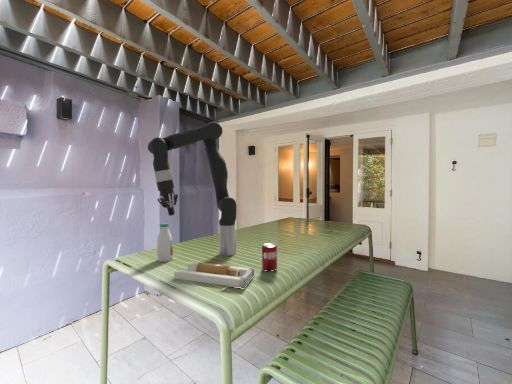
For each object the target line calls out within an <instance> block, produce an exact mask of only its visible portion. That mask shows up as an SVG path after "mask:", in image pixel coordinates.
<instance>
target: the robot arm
mask: <svg viewBox="0 0 512 384" xmlns="http://www.w3.org/2000/svg"><path fill="white" fill-rule="evenodd" d="M222 135H223V127H222V125H221V124H220V123H219V122H215V121H211V122H209V123H207V124H206V123H205V124H204V125H203V126H201V127H198V128H194V129H191V130H185V131H182V132H177V133H172V134H170V135H168V136H166V137H159V136H158V137H154V138H153V139H151V140H150V141H149V142H148V144H147V150H148V152H149V153H150V154H152V155H153V161H152V165H153V170H154V171H153V172H154V178H155V181H156V188H157V191H158V192H159V193H160V194H159V198H157V202H158V203H159V204H160V205H161V206H162V208H166V209H167V213H168V216H170V217H171V216H174V215H175V206H176V205H177V203H178V197H179V194H176V193H175V191H174V189H175V184H174V179H173V175H172V174H173V173H172V172H171V171H172V170H171V168H170V164H169V163H170V162H169V153H168V152H169V151H172V150H176V149H179V148H183V147H186V146H190V145H192V144H194V143H197V142H201V141H203V144H204V146H205V150H206V151H205V152H206V154H207V159H208V163H209V169H210V174H211V179H212V184H213V186H214V190H215V199H216V207H217V208H218V210H219V211H220V212H221V214H220V215H221V217H220V219H219V220H218V229H219V231H218V232H219V233H218V234H219V235H218V236H219V238H218V240H219V241H218V242H219V247H218V248H219V255H220V256H224V257H225V256H226V257H229V256H230V257H231V256H233V255H236V253H237V236H236V220H237V202H236V200H235V199H234V198H233V197H231V196H229V191H228V177H229V176H228V174H229V173H228V167H227V163H226V160H225V158H224V157H223V155H222V154H221V152H220V150H219V147H218V143H217V139H219V138H220V137H221V136H222Z"/></svg>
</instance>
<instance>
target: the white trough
mask: <svg viewBox="0 0 512 384" xmlns="http://www.w3.org/2000/svg"><path fill="white" fill-rule="evenodd" d="M198 263H199V262H197V261H190V262H188V263H187V270H185V269H183V270H182V269H176V270H175V271H173V273H174V275H173V278H174V279H176V280H183V281H190V282H191V281H192V282H197V283H205V284H211V285H220V286H227V287H226V288H228V287H241V288H245V286H246V285H247V284H248V282H249V281H250V280H251V278H252V277H253V276H254V277H255V269H254V268H251V267H242V266H235V265H234V266H231V265H229V266H230V269H235V270H237V269H239V270H240V276H239V277H235V276H227V275H218V274H210V273H202V272H196V267H197V265H198ZM251 281H252V280H251ZM248 285H249V284H248ZM248 285H247V286H248ZM245 289H246V288H245Z"/></svg>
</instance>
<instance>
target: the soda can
mask: <svg viewBox="0 0 512 384" xmlns="http://www.w3.org/2000/svg"><path fill="white" fill-rule="evenodd" d="M275 269H277V270H278V245H277V244H276V243H272V242H271V243H269V242H268V243H263V244H262V246H261V270H262V271H264V270H267V271H271V270H275Z"/></svg>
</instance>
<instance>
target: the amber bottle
mask: <svg viewBox="0 0 512 384" xmlns="http://www.w3.org/2000/svg"><path fill="white" fill-rule="evenodd" d="M197 263H198V265H197V267H196V272H202V273H210V274H218V275H227V276H235V277H239V276H240V270H239V269H237V270H235V269H230V266H231V265H229V264H228V265H226V264H217V263H209V262H208V263H207V262H197Z"/></svg>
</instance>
